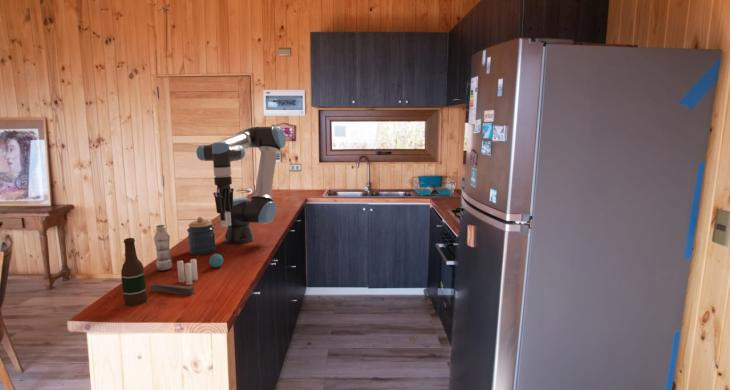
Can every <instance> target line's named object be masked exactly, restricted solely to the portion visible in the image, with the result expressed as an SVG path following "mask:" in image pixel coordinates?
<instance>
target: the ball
mask: <svg viewBox="0 0 730 390" xmlns="http://www.w3.org/2000/svg"><path fill="white" fill-rule="evenodd" d="M208 262H209V264H210V266H212V267H213V268H220V267H221V266H222V265H223V263H224V258H223V256H222V255H221V254H219V253H214V254H212V255H211V256H210V257H209V260H208Z"/></svg>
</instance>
